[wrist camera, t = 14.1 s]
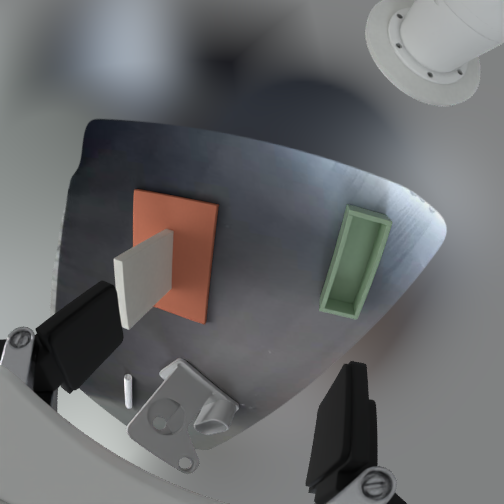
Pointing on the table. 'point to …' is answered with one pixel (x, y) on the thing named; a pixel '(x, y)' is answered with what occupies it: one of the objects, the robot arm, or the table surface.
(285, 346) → the table surface
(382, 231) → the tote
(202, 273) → the mat
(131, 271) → the board
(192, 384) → the phone holder
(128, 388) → the marker
